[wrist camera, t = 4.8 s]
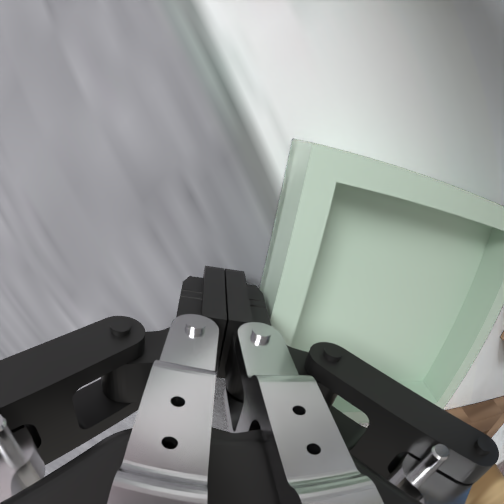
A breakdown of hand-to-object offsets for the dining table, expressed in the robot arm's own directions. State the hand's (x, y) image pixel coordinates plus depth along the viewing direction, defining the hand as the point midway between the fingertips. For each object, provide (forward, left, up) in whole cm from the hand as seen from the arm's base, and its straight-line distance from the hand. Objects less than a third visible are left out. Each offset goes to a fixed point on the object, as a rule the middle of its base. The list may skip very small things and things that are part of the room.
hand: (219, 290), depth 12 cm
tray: (0, +8, -1) cm, 8 cm away
